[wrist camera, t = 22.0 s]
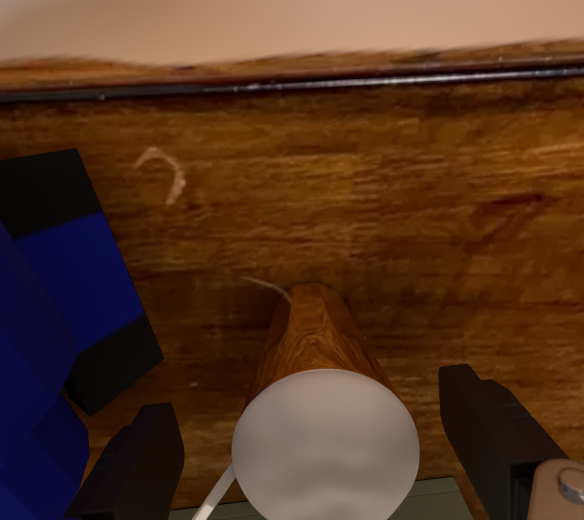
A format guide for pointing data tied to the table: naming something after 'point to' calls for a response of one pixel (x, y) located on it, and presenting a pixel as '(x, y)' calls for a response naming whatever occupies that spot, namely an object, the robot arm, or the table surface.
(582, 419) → the table surface
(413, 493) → the cabinet
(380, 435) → the milkshake
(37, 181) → the alarm clock
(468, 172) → the table surface
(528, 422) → the robot arm
